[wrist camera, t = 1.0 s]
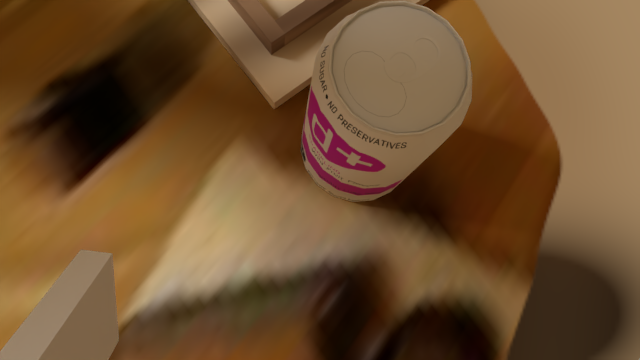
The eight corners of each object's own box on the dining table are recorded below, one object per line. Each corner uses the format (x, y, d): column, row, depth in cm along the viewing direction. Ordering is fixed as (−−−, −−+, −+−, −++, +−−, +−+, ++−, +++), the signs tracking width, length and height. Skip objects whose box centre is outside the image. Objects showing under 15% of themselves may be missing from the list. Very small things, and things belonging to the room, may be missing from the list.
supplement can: (343, 225, 41) (384, 181, 26) (278, 133, 42) (282, 42, 27) (431, 163, 42) (516, 89, 27) (366, 77, 43) (415, -39, 29)
